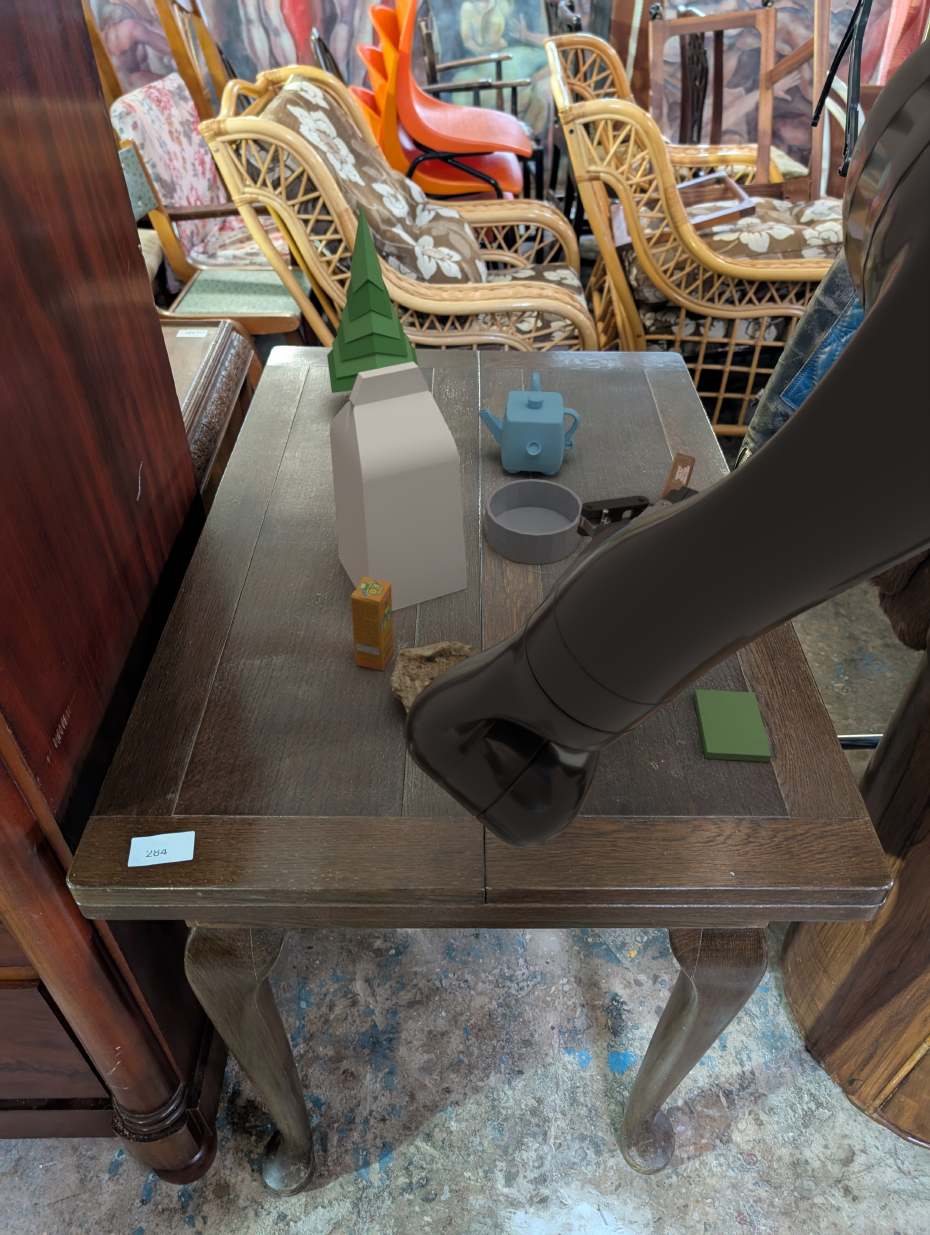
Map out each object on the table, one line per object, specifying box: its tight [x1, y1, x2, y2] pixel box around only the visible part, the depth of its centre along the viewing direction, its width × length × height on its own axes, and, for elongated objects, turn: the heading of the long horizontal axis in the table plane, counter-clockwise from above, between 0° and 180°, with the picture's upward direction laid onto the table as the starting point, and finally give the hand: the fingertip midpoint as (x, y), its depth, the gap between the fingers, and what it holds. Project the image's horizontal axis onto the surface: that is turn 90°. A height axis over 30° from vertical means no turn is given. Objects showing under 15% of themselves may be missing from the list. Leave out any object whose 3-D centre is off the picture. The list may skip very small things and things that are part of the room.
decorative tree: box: [326, 204, 419, 394], centre depth 115 cm, size 14×16×30 cm
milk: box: [329, 362, 469, 612], centre depth 87 cm, size 12×12×26 cm
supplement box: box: [350, 577, 394, 672], centre depth 82 cm, size 3×3×10 cm
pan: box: [484, 478, 583, 565], centre depth 100 cm, size 12×12×4 cm
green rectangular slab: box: [693, 689, 772, 763], centre depth 78 cm, size 8×6×1 cm
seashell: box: [389, 640, 479, 713], centre depth 79 cm, size 11×7×10 cm
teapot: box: [477, 371, 581, 476], centre depth 111 cm, size 18×14×10 cm
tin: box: [659, 451, 696, 500], centre depth 100 cm, size 15×3×8 cm, turn 159°
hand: (687, 497), depth 67 cm, fingers closed
